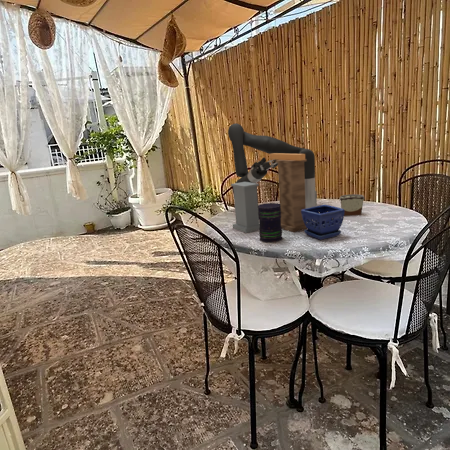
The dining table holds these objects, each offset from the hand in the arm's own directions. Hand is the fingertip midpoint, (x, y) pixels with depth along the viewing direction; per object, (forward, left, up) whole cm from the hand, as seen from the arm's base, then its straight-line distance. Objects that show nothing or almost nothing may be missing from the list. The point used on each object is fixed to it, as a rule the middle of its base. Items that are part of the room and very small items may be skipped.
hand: (272, 158), depth 173 cm
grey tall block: (+15, +6, -32) cm, 36 cm away
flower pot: (-14, +29, -33) cm, 46 cm away
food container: (-39, -1, -33) cm, 51 cm away
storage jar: (+8, +26, -33) cm, 42 cm away
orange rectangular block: (-5, +10, 0) cm, 11 cm away
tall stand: (-6, +12, -32) cm, 35 cm away
